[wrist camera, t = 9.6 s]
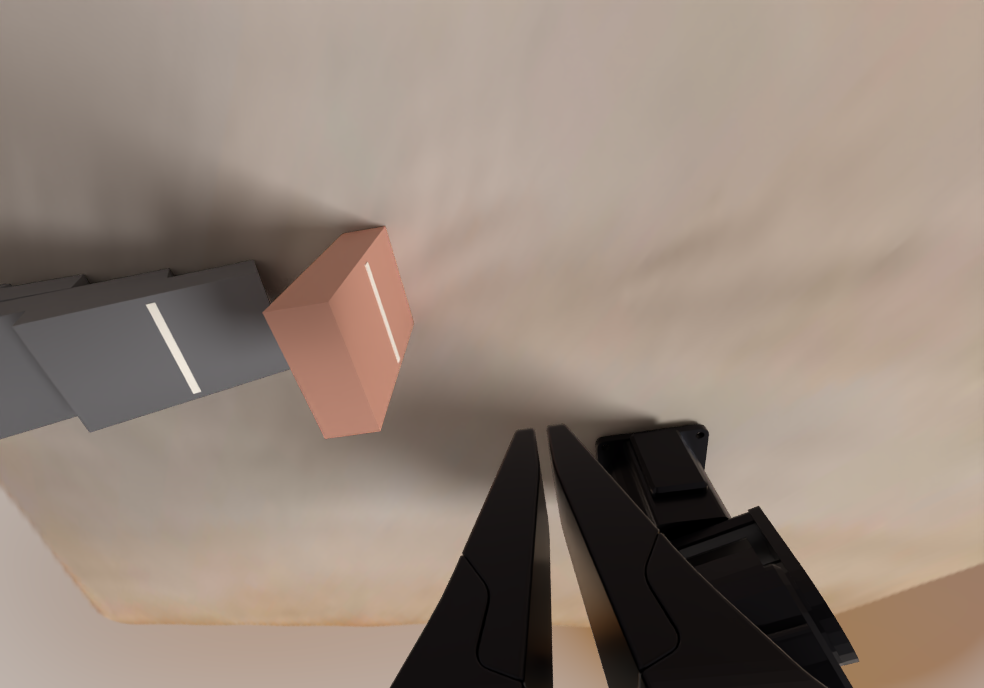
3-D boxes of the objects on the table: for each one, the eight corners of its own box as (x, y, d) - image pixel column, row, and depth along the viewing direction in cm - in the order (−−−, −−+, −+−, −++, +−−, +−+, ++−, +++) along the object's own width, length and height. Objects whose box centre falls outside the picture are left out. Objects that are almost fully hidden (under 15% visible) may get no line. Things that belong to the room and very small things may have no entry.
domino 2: (293, 368, 21) (89, 433, 17) (287, 350, 22) (99, 406, 19) (257, 272, 18) (11, 326, 15) (253, 259, 20) (30, 306, 17)
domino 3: (212, 376, 21) (-5, 440, 18) (212, 357, 23) (13, 414, 19) (166, 281, 18) (-98, 337, 15) (169, 267, 20) (-69, 315, 17)
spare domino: (415, 322, 22) (381, 431, 15) (375, 329, 22) (323, 439, 15) (386, 225, 19) (329, 301, 12) (341, 233, 19) (260, 312, 12)
